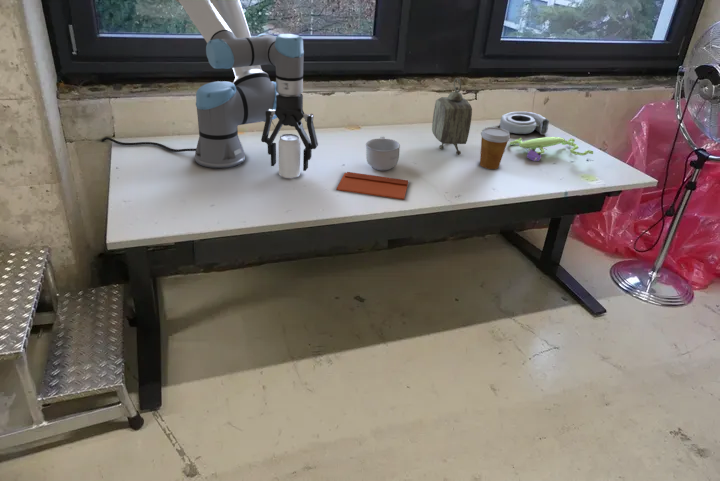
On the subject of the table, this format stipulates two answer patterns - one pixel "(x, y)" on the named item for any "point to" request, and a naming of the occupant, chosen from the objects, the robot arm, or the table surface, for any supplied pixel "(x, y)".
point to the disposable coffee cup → (493, 146)
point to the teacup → (382, 153)
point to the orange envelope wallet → (373, 185)
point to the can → (289, 156)
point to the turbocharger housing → (524, 122)
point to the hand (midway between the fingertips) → (289, 166)
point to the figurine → (546, 142)
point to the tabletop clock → (452, 119)
